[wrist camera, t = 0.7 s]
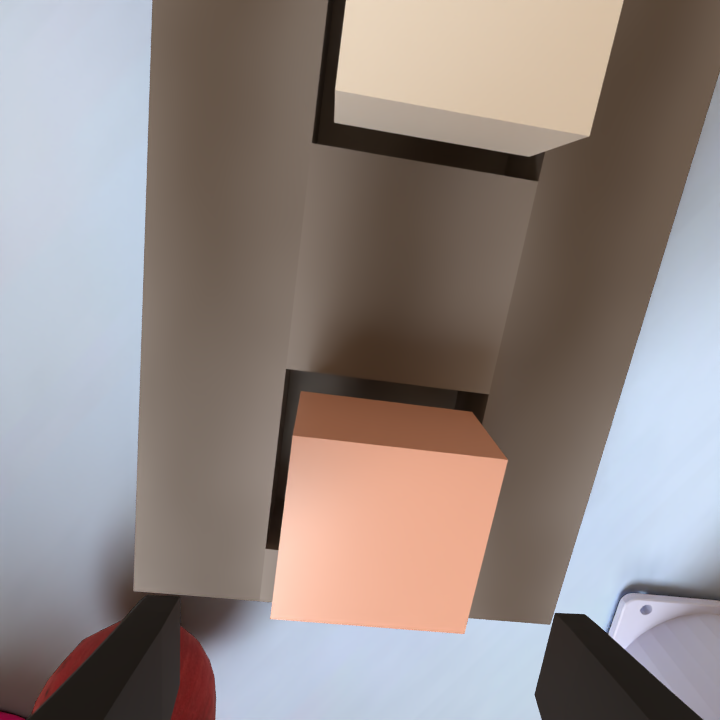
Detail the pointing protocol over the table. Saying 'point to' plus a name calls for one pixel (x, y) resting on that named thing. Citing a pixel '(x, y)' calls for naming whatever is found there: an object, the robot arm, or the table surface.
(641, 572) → the table surface
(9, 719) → the pepper mill
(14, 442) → the table surface
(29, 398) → the table surface
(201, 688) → the onion
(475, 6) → the cream key
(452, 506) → the terracotta key
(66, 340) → the table surface
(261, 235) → the key bed
